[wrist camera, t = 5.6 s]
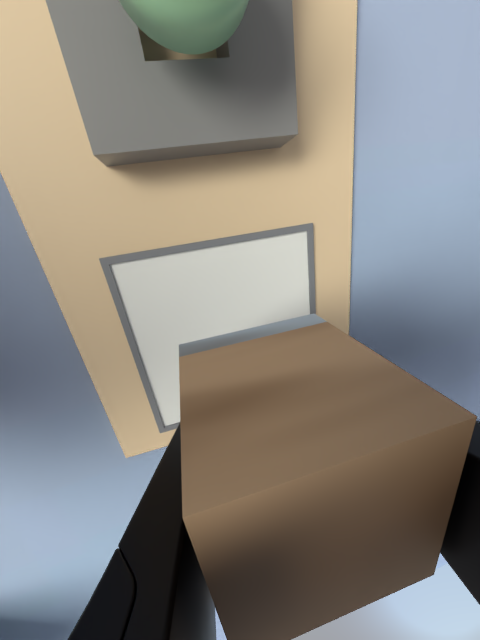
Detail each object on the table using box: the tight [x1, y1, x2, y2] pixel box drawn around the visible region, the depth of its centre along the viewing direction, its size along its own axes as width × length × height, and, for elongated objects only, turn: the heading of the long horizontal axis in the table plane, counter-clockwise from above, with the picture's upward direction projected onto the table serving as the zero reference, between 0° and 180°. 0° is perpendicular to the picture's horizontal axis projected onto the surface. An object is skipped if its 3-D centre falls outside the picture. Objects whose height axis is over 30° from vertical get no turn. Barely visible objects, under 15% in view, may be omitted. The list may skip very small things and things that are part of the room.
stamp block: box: [179, 313, 477, 640], centre depth 7 cm, size 4×4×5 cm
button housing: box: [46, 0, 298, 167], centre depth 8 cm, size 7×7×2 cm
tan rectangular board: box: [0, 0, 357, 458], centre depth 11 cm, size 22×14×1 cm, turn 8°
